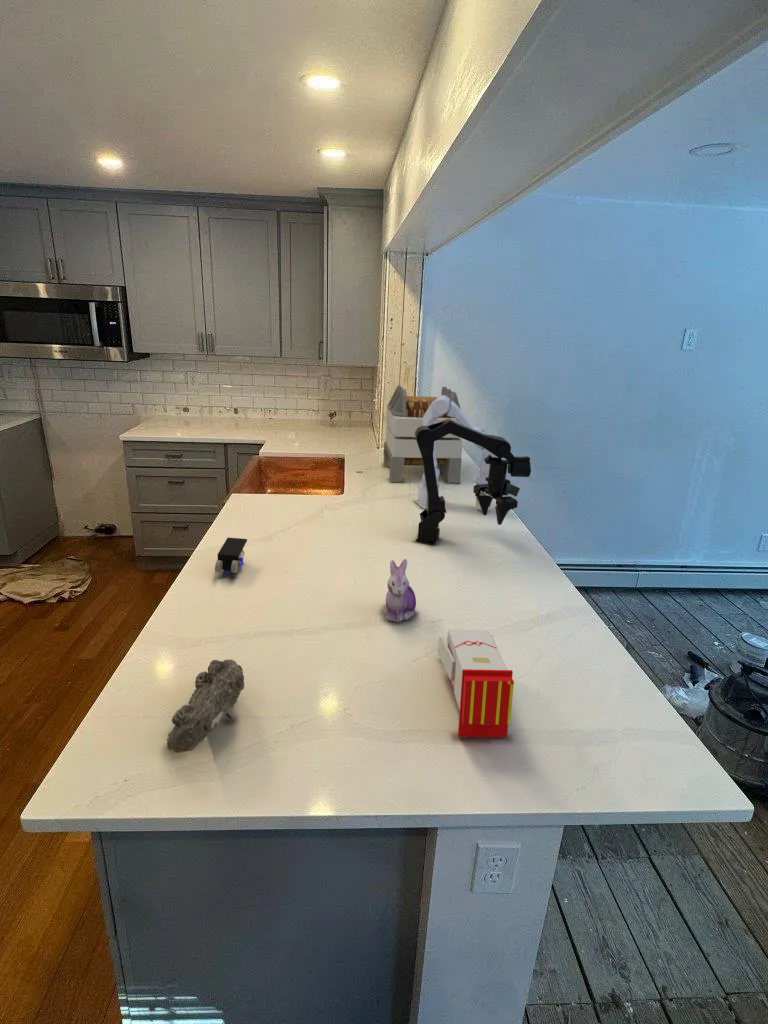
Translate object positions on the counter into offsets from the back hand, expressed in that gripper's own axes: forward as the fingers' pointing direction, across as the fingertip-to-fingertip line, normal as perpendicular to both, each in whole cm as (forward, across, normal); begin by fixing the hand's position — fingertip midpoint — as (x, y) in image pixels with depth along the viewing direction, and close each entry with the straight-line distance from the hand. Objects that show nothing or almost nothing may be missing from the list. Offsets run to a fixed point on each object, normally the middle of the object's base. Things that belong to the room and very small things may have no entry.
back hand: (483, 504), depth 226 cm
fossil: (+2, -89, +114) cm, 145 cm away
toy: (+2, -99, +63) cm, 117 cm away
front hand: (-6, -30, +15) cm, 34 cm away
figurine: (+2, -65, +65) cm, 92 cm away
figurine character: (+2, -26, +102) cm, 105 cm away
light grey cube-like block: (+1, 0, 0) cm, 1 cm away
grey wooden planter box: (+2, +56, +2) cm, 56 cm away
